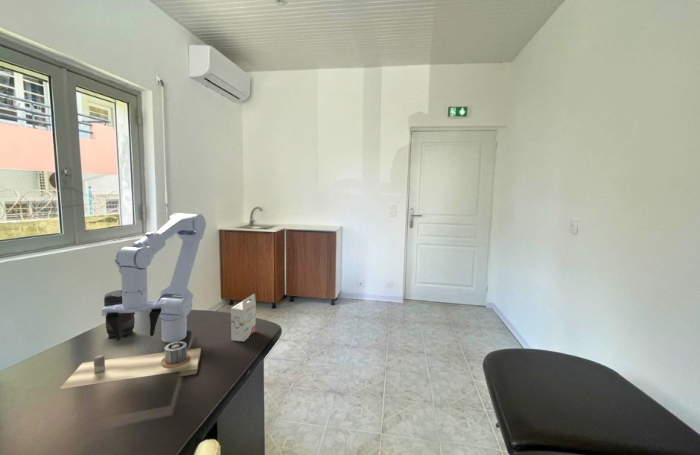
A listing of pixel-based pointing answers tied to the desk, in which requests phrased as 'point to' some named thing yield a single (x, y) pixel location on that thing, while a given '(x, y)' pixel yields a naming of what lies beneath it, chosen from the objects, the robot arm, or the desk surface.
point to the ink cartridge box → (243, 319)
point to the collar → (175, 353)
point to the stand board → (131, 368)
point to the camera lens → (127, 318)
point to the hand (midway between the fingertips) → (136, 336)
